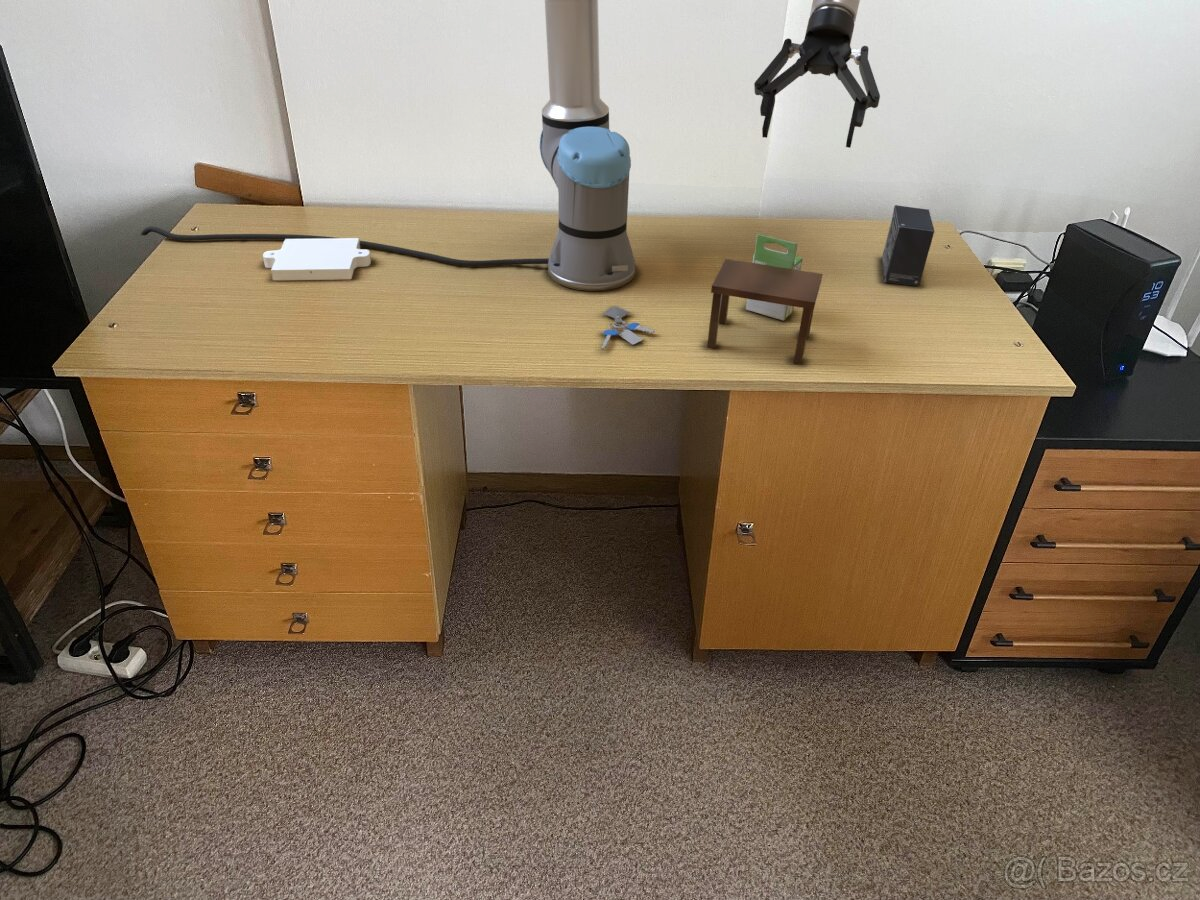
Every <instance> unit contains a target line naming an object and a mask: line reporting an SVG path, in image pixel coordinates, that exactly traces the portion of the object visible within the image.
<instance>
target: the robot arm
mask: <svg viewBox="0 0 1200 900" xmlns="http://www.w3.org/2000/svg"><path fill="white" fill-rule="evenodd" d="M860 2H861V0H812V3H811V7H810V13H809V18H808V20H807V21H808V23H807V26H806V30H805V35H804V40H803V41H802V42H801V43H800V44H799V43H795V42H792V39H791V38H786V39H784V41H783V44H782V47H781V49H780V51H778V53H777V55H776V56H775V57H774V58H773V59H772V60H771V62H770V63H769V64H768V65H767V66H766V68H765V69H764V71H763V72H762V73H761V74H760V75H759V77H758V78H757V79H756V80H755V81H754V84H753V89H754V95H755V96H761V97H762V99H761V103H760V108H759V112H760V113H759V115H760V116H761V117H764V119H763V124H762V128H761V131H762V133H761V134H762V138H766V139H767V138H768V135H769V131H770V127H771V121H772V116H773V112H774V108H775V104H776V95H778V94H779V93H780V92H782V91H783V90H784V89H786V88H787V87H788V86H789V85H791V84H792V83H793V82H794V81H796V80H797V79H798V78H800V77H803V76H804V75H806V73H808V72H809V73H810V74H811V75H824V76H829V77H830V76H831V75H835V77H836V78H837V80H838V81H840V83H842V85H843V87H844V88H845V90H846V91H847V93H848V95H849V96H850V98H851V99H852V101H853V102H854V105H853V109H852V113H851V118H850V123H849V128H848V132H847V136H846V143H845V148H850V149H851V146H852V142H853V138H854V133H855V129H856V128H862V126H863V125H864V120H865V116H866V111H867V110H868V109H869V108H873V109H877V108H878V107H879V105H880V104H879V103H880V99H881V94H880V90H879V88H878V85H877V83H876V79H875V76H874V73H873V69H872V67H871V64H870V60H869V47H868V46H867V45H862V46H861V48H858V49H857V48H856V49H855V48H854V49H853V48H852V47H851V44H852V38H853V35H854V29H855V22H856V18H857V15H858V12H859V11H858V10H859V5H860ZM544 13H545V31H546V32H545V34H546V51H547V70H548V87H549V88H548V90H549V100H548V101H547V103H546V104H545V105H544V106H543V107H542V108H541V122H542V123H541V124H542V130H541V133H540V137H539V153H540V157H541V161H542V163H543V165H544V167H545V169H546V170H547V172H548V173H549V174H550V176H551V178H552V180H553V181H554V184H555V185H556V187H557V192H558V193H557V194H558V229H557V232H556V235H555V238H554V242H553V245H552V247H551V250H550V254H549V257H548V258H509V259H508V258H505V259H487V260H470V259H469V260H468V259H467V260H466V259H458V258H451V257H447V256H443V255H439V254H434V253H430V252H424V251H419V250H415V249H411V248H410V249H409V248H406V247H405V248H404V247H400V246H395V245H390V244H389V245H388V244H384V243H377V242H371V241H366V240H360V239H359V241H360V247H365V248H369V249H376V250H382V251H387V252H392V253H398V254H403V255H408V256H413V257H418V258H423V259H426V260H432V261H436V262H440V263H444V264H449V265H454V266H455V265H456V266H461V267H462V266H464V267H493V266H512V265H513V266H516V265H547V272H548V276H549V277H550V278H551V280H553V281H554V282H556V283H557V284H558V285H561V286H563V287H566V288H570V289H574V290H577V291H585V292H600V291H601V292H602V291H608V290H614V289H617V288H620V287H624V286H626V285H627V284H628V283H630V282H632V280H633V279H634V277H635V274H636V261H635V257H634V254H633V250H632V249H633V248H632V247H631V243H630V239H629V235H628V232H627V231H628V229H627V227H628V209H629V208H628V207H629V206H628V205H629V191H630V190H629V189H630V188H629V187H630V172H631V166H632V159H631V149H630V145H629V142H628V141H627V140H626V138H625V137H624V136H623V135H622V134H620V133H618V132H616V131H611V130H610V108H609V106H608V105H607V104H606V102H604V101H603V100H602V99H601V88H600V87H601V82H600V35H599V34H600V33H599V0H544ZM796 54H798V55H799V58H797V59H796V61H795V63H793V64H792V65H790V66H789V67H788V68H787V69H785V70H783V72H781V73H780V71H781V70H782V69H783V68H784V66H785V65H786V64H787V63H788V61H789V59H792V58H793V57H794V56H795V55H796ZM851 59H852V60H853V61H854V64H855V65H856V66H858V71H859V75H860V77H861V79H862V80H861V81H862V83H863V85H864V86H863V87H864V89H865V90H864V89H863V88H862V87H861V85H860V84H859V83H858V82H859V81H857V79H856V78H855V76H854V74H853V73H852V72H851V70H850V69H849V67H848V62H849V61H850V60H851ZM779 73H780V74H779ZM778 74H779V75H778ZM777 75H778V76H777ZM776 76H777V77H776ZM865 92H866V93H865ZM150 233H156V234H158V235H161V236H163V237H165V238H168V239H171V240H176V241H216V240H217V241H219V240H222V241H223V240H283V241H285V239H319V238H337V237H334V236H326V235H325V236H323V235H312V234H311V235H309V234H291V233H290V234H289V233H288V234H287V233H284V234H283V233H213V234H177V233H172V232H169V231H167V230H164V229H163V228H160V227H158V226H151V225H150V226H147V227H145V228H144V229H143V230H142V231H141V233H140V235H141V236H147V235H149V234H150Z"/></svg>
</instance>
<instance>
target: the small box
mask: <svg viewBox="0 0 1200 900" xmlns="http://www.w3.org/2000/svg"><path fill="white" fill-rule="evenodd" d="M934 234H935V227H934V223H933V220H932V216H931V211H930V209H927V208H919V207H911V206H906V205H905V206H904V205H897V204H895V205H894V207H893V212H892V216H891V221H890V225H889V228H888V233H887V236H886V241H885V244H884V247H883V250H882V255H881V258H880V259H881V269H882V277H883V283H890V284H896V285H897V284H899V285H906V286H915V287H919V286H920V283H921V280H922V277H923V273H924V270H925V267H926V262H927V259H928V255H929V253H930V249H931V245H932V241H933V237H934Z"/></svg>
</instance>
